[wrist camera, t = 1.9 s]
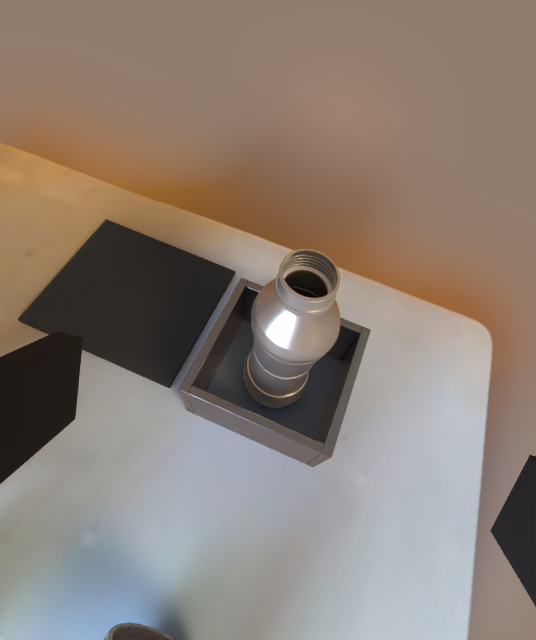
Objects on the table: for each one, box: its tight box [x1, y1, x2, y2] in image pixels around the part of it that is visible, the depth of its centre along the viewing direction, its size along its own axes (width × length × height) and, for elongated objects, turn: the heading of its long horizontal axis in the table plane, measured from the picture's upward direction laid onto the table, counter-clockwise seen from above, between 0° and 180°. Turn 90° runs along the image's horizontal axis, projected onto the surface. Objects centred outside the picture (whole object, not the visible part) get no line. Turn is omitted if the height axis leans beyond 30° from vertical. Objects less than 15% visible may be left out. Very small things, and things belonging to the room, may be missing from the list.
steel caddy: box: [179, 278, 370, 467], centre depth 36 cm, size 14×13×7 cm
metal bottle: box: [243, 249, 340, 408], centre depth 30 cm, size 6×7×20 cm
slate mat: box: [18, 220, 235, 388], centre depth 42 cm, size 18×16×1 cm
